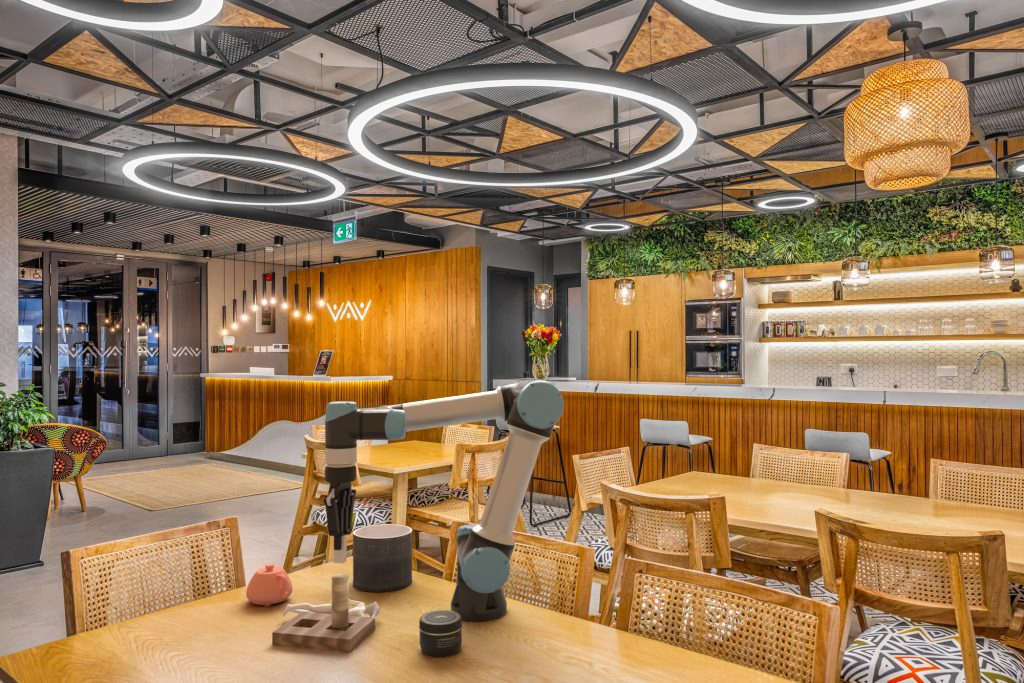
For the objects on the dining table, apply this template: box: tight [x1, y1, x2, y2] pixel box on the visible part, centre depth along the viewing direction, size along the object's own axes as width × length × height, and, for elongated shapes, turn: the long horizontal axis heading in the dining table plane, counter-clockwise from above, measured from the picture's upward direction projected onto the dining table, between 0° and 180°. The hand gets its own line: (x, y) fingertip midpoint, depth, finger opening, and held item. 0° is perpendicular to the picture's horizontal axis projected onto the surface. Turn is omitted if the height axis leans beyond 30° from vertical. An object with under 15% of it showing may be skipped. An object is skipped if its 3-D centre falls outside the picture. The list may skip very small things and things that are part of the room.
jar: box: [418, 609, 463, 659], centre depth 162 cm, size 10×10×8 cm
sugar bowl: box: [245, 563, 293, 607], centre depth 195 cm, size 12×14×10 cm
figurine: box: [282, 598, 381, 619], centre depth 180 cm, size 8×6×25 cm
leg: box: [331, 573, 350, 631], centre depth 169 cm, size 4×4×15 cm
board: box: [271, 612, 376, 653], centre depth 169 cm, size 20×14×3 cm
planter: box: [352, 523, 413, 593], centre depth 211 cm, size 18×18×16 cm
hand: (339, 562), depth 169 cm, fingers closed
